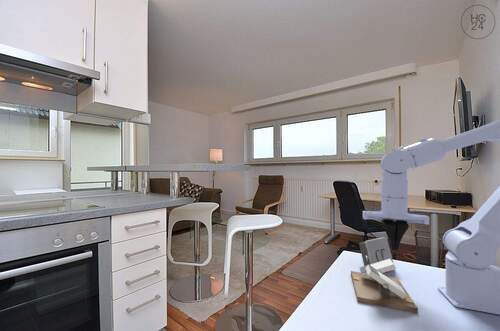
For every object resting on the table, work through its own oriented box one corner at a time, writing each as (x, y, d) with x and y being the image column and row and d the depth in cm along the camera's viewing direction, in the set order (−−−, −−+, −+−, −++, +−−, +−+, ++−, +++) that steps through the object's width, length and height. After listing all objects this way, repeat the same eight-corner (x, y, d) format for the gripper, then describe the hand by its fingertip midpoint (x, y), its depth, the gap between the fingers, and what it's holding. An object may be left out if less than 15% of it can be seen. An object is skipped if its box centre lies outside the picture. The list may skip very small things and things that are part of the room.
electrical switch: (375, 276, 61) (372, 242, 62) (359, 270, 65) (356, 238, 66) (395, 270, 65) (392, 238, 66) (378, 264, 69) (376, 235, 70)
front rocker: (397, 291, 51) (401, 285, 50) (402, 300, 47) (407, 294, 47) (364, 269, 53) (368, 263, 53) (367, 276, 50) (371, 270, 49)
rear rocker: (392, 264, 57) (389, 258, 57) (396, 270, 53) (393, 263, 54) (362, 273, 59) (359, 267, 59) (364, 279, 56) (361, 273, 56)
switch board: (397, 282, 58) (397, 270, 58) (417, 313, 45) (417, 298, 45) (350, 274, 62) (350, 263, 62) (357, 301, 49) (357, 287, 49)
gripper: (421, 196, 58) (420, 247, 58) (361, 193, 63) (360, 240, 63) (433, 200, 51) (433, 257, 51) (365, 196, 56) (364, 249, 56)
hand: (393, 248), depth 56 cm, fingers closed
